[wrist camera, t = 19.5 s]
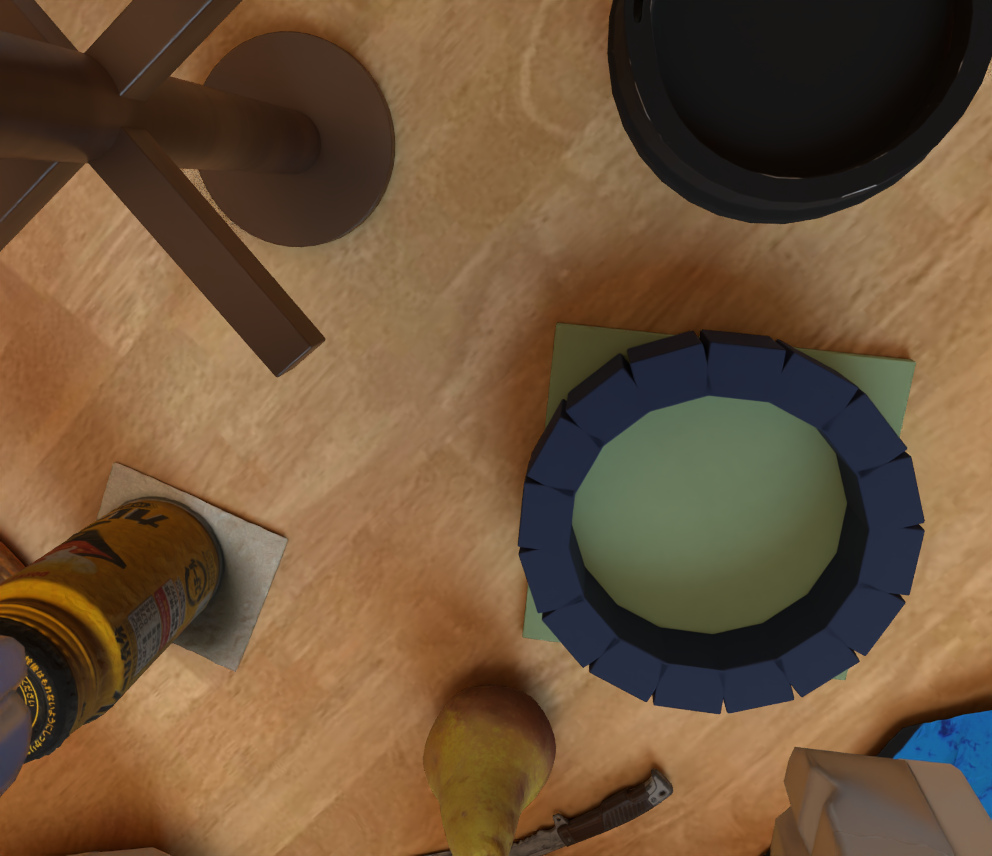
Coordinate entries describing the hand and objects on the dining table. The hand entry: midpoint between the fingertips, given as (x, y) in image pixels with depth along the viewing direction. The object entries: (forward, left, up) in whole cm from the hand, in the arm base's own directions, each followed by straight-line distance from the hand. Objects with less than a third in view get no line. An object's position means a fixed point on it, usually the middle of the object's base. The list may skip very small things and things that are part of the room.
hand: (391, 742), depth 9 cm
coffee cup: (-9, +6, -28) cm, 30 cm away
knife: (+23, 0, -27) cm, 36 cm away
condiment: (+13, -15, -28) cm, 34 cm away
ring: (+7, +8, -27) cm, 29 cm away
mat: (+7, +8, -28) cm, 29 cm away
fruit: (+18, 0, -28) cm, 33 cm away
